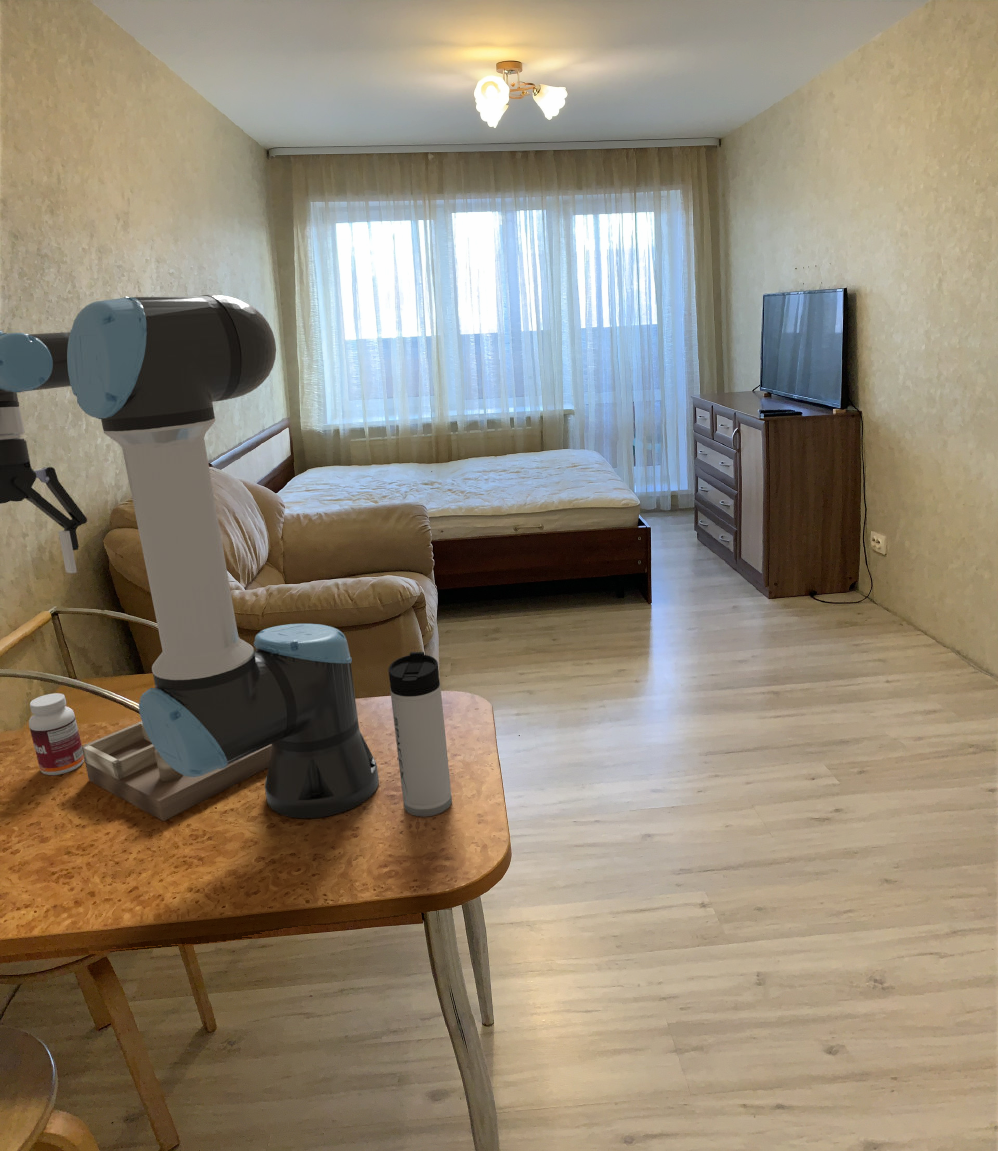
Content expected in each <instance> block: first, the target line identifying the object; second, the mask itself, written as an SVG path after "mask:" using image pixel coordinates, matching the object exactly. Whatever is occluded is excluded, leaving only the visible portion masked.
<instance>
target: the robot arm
mask: <svg viewBox="0 0 998 1151" xmlns="http://www.w3.org/2000/svg"><path fill="white" fill-rule="evenodd" d="M276 355H277V345H276V338H275V335H274V332H273V330H272V327H271V325H270V324H269V322H268V321H267V319H266V318H265V316H264V315H263V314H262V313H261V312H259V310H258V309H256V308H255V307H253V306H252V305H251V304H249V303H247V302H245V301H244V300H241V299H239V298H236V297H231V296H229V295H220V294H219V295H218V294H203V295H188V296H187V295H186V296H185V295H184V296H182V295H181V296H180V295H179V296H124V297H122V298H121V297H119V298H113V299H104V300H103V299H102V300H97V301H94V302H91V303H89V304H87V305H85V306H84V307H83V308H82V309H81V310H80V311H79V312H78V314H77V315H76V317H75V319H74V321H73V323H72V327H71V328H70V331H68V332H67V331H66V332H64V331H63V332H62V331H61V332H60V331H59V332H46V333H31V334H30V333H24V332H10V333H9V332H8V333H7V332H6V333H5V332H4V331H1V330H0V505H2V504H8V502H23V500H26V501H28V502H30V503H31V504H33V505H34V506H35V507H36V508H38V509H39V510H40V511H41V512H43V513H44V514H45V515H46V516H48V517H49V518H50V519H52V520H53V521H54V522H56V523H57V524H58V525H59V526H60V527H62V529H64V530H62V529H61V530H58V538H59V542H60V547H61V552H62V558H63V564H64V570H65V573H69V574H76V573H78V571H77V565H76V560H75V554H74V551H78V550H79V547H80V546H79V540H78V536H77V529H78V528H79V527H80V526H82V525H84V524H87V522H88V519H87V517H86V515H85V514H84V513H83V512H82V510H81V509H80V507H79V506H78V505H77V503H76V502H75V501H74V500H73V498H72V497H71V495H70V494H69V493H68V491H67V490H66V489H65V488H64V486H63V485H62V483H60V481H59V478H58V475H57V472H56V469H55V468H54V467H52V466H46V467H43V468H41V469H36V470H34V469H33V468H32V465H31V460H30V455H29V449H28V445H27V440H25V438H22V436H21V435H24V433H25V428H24V422H23V418H22V413H21V408H20V403H19V398H18V393H23V392H31V391H41V390H48V389H49V390H51V389H59V388H66V387H71V391H72V394H73V395H74V396H75V397H76V402H77V405H78V406H79V408H80V410H82V412H84V413H85V414H86V415H88V416H89V417H91V418H95V419H98V420H101V425H102V429H103V434H104V435H106V436H107V437H109V438H110V439H111V440H113V441H115V442H116V443H117V444H118V445H119V446H120V447H121V448H122V452H123V453H122V454H123V458H124V464H125V470H126V473H127V474H126V475H127V478H128V483H129V488H130V493H131V499H132V503H133V509H134V514H135V518H136V519H135V520H136V524H137V530H138V534H139V539H140V543H141V548H142V549H141V550H142V554H143V560H144V563H145V564H144V565H145V569H146V570H145V571H146V574H147V578H148V585H149V590H150V595H151V598H152V599H151V600H152V605H153V609H154V615H155V620H156V624H157V629H158V634H159V641H160V644H161V648H162V649H161V650H162V652H161V653H160V654H159V656H158V657H157V658H156V660H155V661H154V663H153V664H152V666H151V672H152V675H153V681H154V687H151V688H150V687H149V688H148V689H147V690H146V691H145V692H143V693H142V695H140V698H139V703H138V711H139V716H140V719H141V720H140V721H142V723H143V726H144V728H145V731H146V733H147V735H148V737H149V739H150V741H151V742H152V744H153V746H154V747H155V749H156V750H157V752H158V753H159V754H160V756H161V757H162V758H163V759H164V761H165V762H166V763H167V764H168V765H169V766H170V767H171V768H173V769H174V770H175V771H177V772H178V773H180V774H182V775H185V776H188V777H199V776H202V775H204V774H207V773H209V772H212V771H214V770H216V769H223V768H225V767H227V765H228V764H230V763H232V762H235V761H237V760H239V759H241V758H243V757H245V756H247V755H249V754H251V753H254V752H256V751H258V750H260V749H262V748H264V747H266V746H268V745H270V744H272V747H271V753H270V759H269V765H268V768H267V773H266V776H265V781H264V789H265V790H264V791H265V798H266V803H267V805H268V806H269V808H270V809H271V810H272V811H274V812H275V813H277V814H279V815H282V816H285V817H288V818H295V819H315V818H324V817H329V816H333V815H337V814H340V813H344V812H346V811H348V810H351V809H353V808H355V807H357V806H359V805H361V804H362V803H364V802H366V801H367V800H369V799H370V797H371V796H372V795H373V794H375V792H376V790H377V789H378V786H379V783H380V779H379V771H378V765H377V762H376V759H375V758H374V756H373V754H372V752H371V749H370V748H369V746H368V744H367V742H366V741H365V738H364V736H363V735H362V732H361V730H360V724H359V719H358V718H359V717H358V710H357V704H356V703H357V702H356V694H355V686H354V681H353V680H354V678H353V670H352V660H353V659H352V657H351V653H350V650H349V644H348V641H347V638H346V636H345V634H344V633H343V632H342V631H341V630H340V629H338V628H336V627H333V626H330V625H326V624H320V623H289V624H281V625H275V626H272V627H270V626H269V627H268V628H264V629H263V630H260V631H259V632H258V633H257V634H256V635H255V637H254V642H253V646H252V645H251V644H250V643H248V642H246V641H245V640H244V639H241V638H240V637H239V633H238V628H237V627H238V626H237V621H236V616H235V610H234V602H233V598H232V594H231V593H232V592H231V587H230V582H229V581H230V580H229V576H228V575H229V574H228V569H227V564H226V562H227V561H226V557H225V551H224V546H223V541H222V533H221V529H220V523H219V517H218V511H217V506H216V499H215V494H214V487H213V482H212V476H211V471H210V464H209V458H208V452H207V447H206V446H207V445H206V443H205V442H206V441H205V436H206V434H207V432H208V431H209V429H211V427H212V426H213V425H214V423H215V422H216V416H215V410H214V405H213V404H214V403H213V402H221V401H222V402H223V401H227V400H232V399H235V398H239V397H243V396H245V395H247V394H249V393H251V392H253V391H254V390H256V389H258V388H259V387H260V386H261V385H262V384H264V382H265V381H266V380H267V378H268V377H269V376H270V373H271V372H272V371H273V368H274V365H275V362H276V358H277V357H276ZM37 479H39V481H40V482H41V483H43V484H46V486H47V488H48V489H49V491H50V492H51V493H52V495H53V496H54V498H55V499H56V500H57V501H58V502H59V504H60V505H61V506H62V507H63V509H64V510H65V512H66V513H67V514H68V516H69V517H70V518H69V517H68V516H67V515H65V514H64V513H63V512H62V511H61V510H59V509H58V508H57V507H56V506H54V505H53V504H51V503H50V502H49V501H48V500H47V499H45V498H44V497H43V496H42V494H41V493H39V492H38V491H37V490H35V489H34V488H33V485H34V483H35V482H36V480H37Z"/></svg>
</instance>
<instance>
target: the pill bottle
mask: <svg viewBox="0 0 998 1151" xmlns="http://www.w3.org/2000/svg"><path fill="white" fill-rule="evenodd" d="M29 707H30V711H31V715H32V714H33V715H32V716H30V718H29V720H28V726H29V731H30V735H31V739H32V744H33V747H34V751H35V755H36V759H37V763H38V767H39V770H40V772H41V773H42V774H43V775H48V776H58V775H63V774H67V773H69V772H71V771H74V770H76V769H78V768H79V767H81V766H82V764H83V763H85V761H84V756H83V752H82V748H81V746H83V745H82V740H81V736H80V731H79V726H78V724H77V720H76V715H75V711H74V710H73V709H72V708H70V707H69V706H67V699H66V697H65V694H63V693H58V692H57V693H56V692H55V693H49V694H44V695H41V696H38V697H36V698H34V699H32V700H31V701H30V703H29Z"/></svg>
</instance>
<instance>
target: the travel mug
mask: <svg viewBox="0 0 998 1151" xmlns="http://www.w3.org/2000/svg"><path fill="white" fill-rule="evenodd" d="M439 671H440V670H439V663H438V660H437V659H436V658H435V657H433V656H431V655H428V654H425V652H424V651H413V652H412V651H411V652H410V653H409V654H408V655H405V656H401V657H399V658H397V659H395V660H394V661H393V662H392V663H391V664H390V665H389V667H388V678H389V687H390V688H389V690H390V699H391V707H392V709H391V710H392V715H393V716H392V717H393V723H394V724H393V725H394V733H395V741H396V750H397V759H398V769H399V775H400V776H399V777H400V784H401V785H400V786H401V792H402V793H401V794H402V801H403V807H404V808H403V809H404V810H405V811H406V812H407V813H408V814H410V815H413V816H415V817H419V818H420V817H424V818H425V817H433V816H437V815H439V814H441V813H444V812H446V811H447V810H448V809H449V808H450V806H451V805H452V803H453V798H452V790H451V788H452V787H451V778H450V776H451V775H450V770H449V769H450V768H449V757H448V749H447V748H448V746H447V739H446V738H447V737H446V728H445V727H446V726H445V719H444V716H445V715H444V707H443V697H442V689H441V682H440V673H439Z"/></svg>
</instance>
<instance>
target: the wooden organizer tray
mask: <svg viewBox="0 0 998 1151" xmlns="http://www.w3.org/2000/svg"><path fill="white" fill-rule="evenodd" d="M271 747H272V744H270V745H268V746H266V747H264V748H262V749H260V750H258V751H256V752H254V753H251V754H249V755H247V756H245V757H243V758H241V759H239V760H237V761H235V762H232V763H230V764H228V765H227V767H225V768H223V769H216V770H214V771H212V772H209V773H207V774H204V775H202V776H199V777H188V776H185V775H182V774H180V773H178V772H177V771H175V770H174V769H173V768H171V767H170V766H169V765H168V764H167V763H166V762H165V761H164V759H163V758H162V757H161V756H160V754H159V753H158V752H157V750H156V749H155V747H154V746H153V744H152V742H151V741H150V739H149V737H148V735H147V733H146V731H145V728H144V726H143V723H142V720H140V721H138V722H136V723H132V725H129V726H127V727H124V728H122V729H120V730H117V731H114V732H112V733H110V734H107V735H105V736H102V737H100V738H97V739H95V740H93V741H90V742H88V743H85V744H83V745H82V746H81V748H82V752H83V756H84V764H85V765H84V766H85V769H86V773H87V774H86V775H87V778H88V781H89V782H91V783H93V784H94V785H97V786H98V787H100V788H101V789H104V790H105V791H107V792H109V793H111V794H113V795H114V796H117V797H118V798H120V799H122V800H124V801H126V803H127V802H128V803H129V804H132V805H133V806H135V807H136V808H138V809H140V810H142V811H144V812H145V813H148V814H149V815H151V816H153V817H155V818H157V819H159V820H160V821H161V822H165V821H167V820H169V819H171V818H172V817H175V816H176V815H178V814H181V813H182V812H184V811H186V810H188V809H190V808H192V807H194V806H196V805H198V804H200V803H202V802H204V801H206V800H207V799H210V798H211V797H213V796H215V795H217V794H219V793H221V792H223V791H224V790H227V789H228V788H230V787H233V786H235V785H236V784H238V783H241V782H242V781H244V780H247V779H248V778H250V777H252V776H253V775H255V774H258V773H260V772H262V771H264V770H266V769H268V765H269V759H270V753H271Z"/></svg>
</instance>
